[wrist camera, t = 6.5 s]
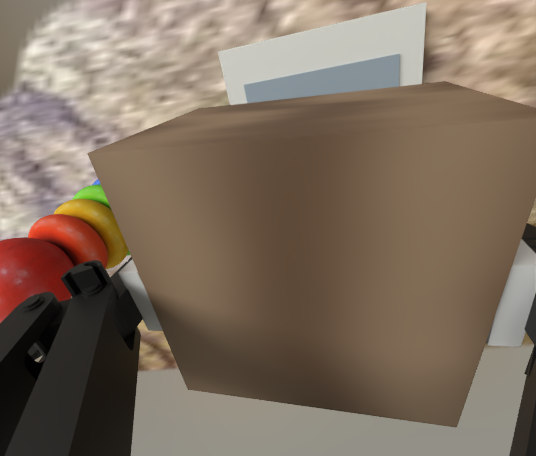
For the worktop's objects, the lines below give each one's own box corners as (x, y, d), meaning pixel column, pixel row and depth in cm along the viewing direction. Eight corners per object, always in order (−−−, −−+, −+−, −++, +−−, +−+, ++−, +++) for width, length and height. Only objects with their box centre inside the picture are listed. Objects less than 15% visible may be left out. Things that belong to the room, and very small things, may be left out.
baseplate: (263, 227, 31) (259, 236, 29) (224, 51, 23) (216, 51, 22) (410, 218, 27) (414, 228, 26) (420, 5, 20) (427, 1, 18)
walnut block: (237, 280, 18) (187, 389, 12) (198, 108, 13) (87, 153, 8) (413, 288, 16) (456, 427, 10) (444, 81, 11) (563, 116, 5)
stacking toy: (219, 178, 29) (74, 329, 13) (183, 229, 33) (40, 391, 17) (150, 125, 28) (-102, 223, 12) (122, 185, 32) (-93, 317, 16)
